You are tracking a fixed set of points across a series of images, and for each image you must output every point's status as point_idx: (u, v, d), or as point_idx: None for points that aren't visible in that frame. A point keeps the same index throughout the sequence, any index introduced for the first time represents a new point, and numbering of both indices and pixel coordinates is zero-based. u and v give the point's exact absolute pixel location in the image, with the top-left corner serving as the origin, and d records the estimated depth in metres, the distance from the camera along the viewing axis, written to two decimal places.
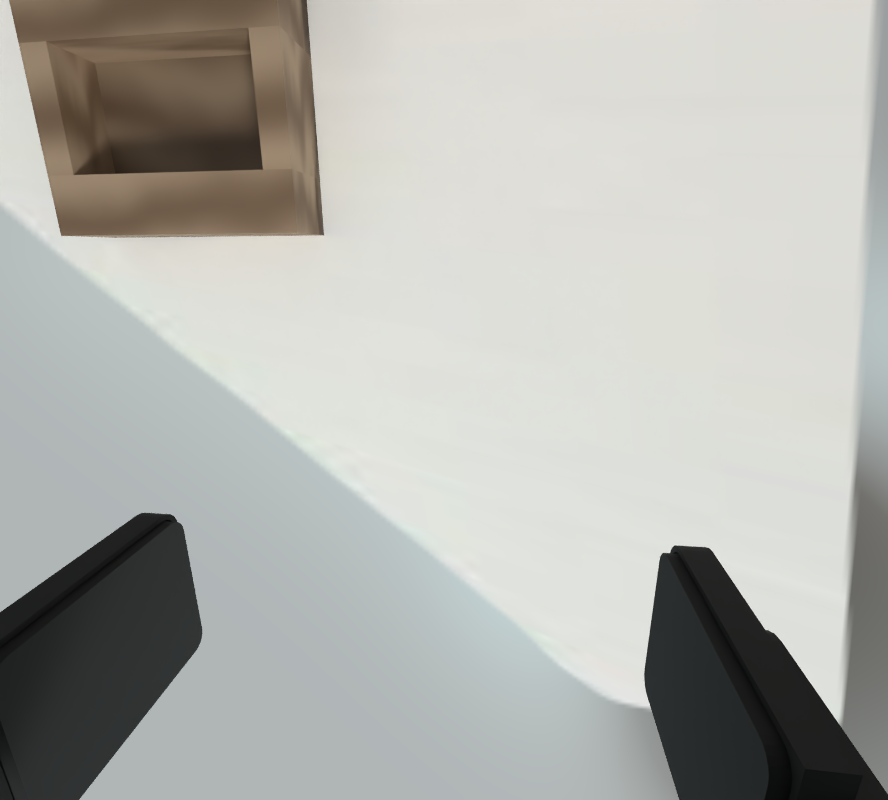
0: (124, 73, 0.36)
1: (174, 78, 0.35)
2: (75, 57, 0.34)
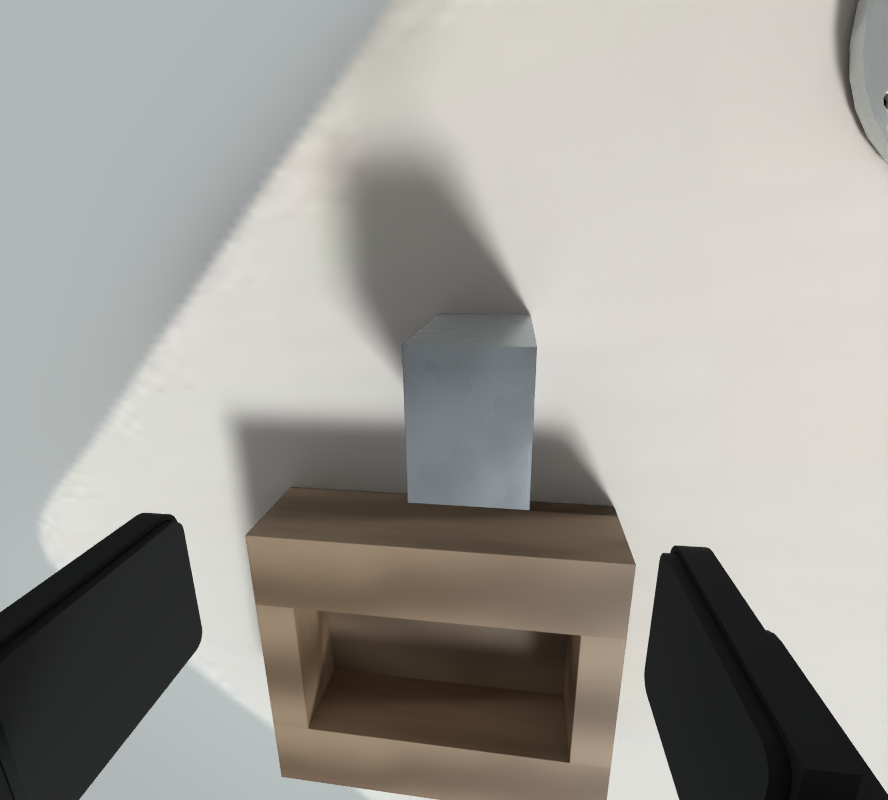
0: None
1: None
2: None
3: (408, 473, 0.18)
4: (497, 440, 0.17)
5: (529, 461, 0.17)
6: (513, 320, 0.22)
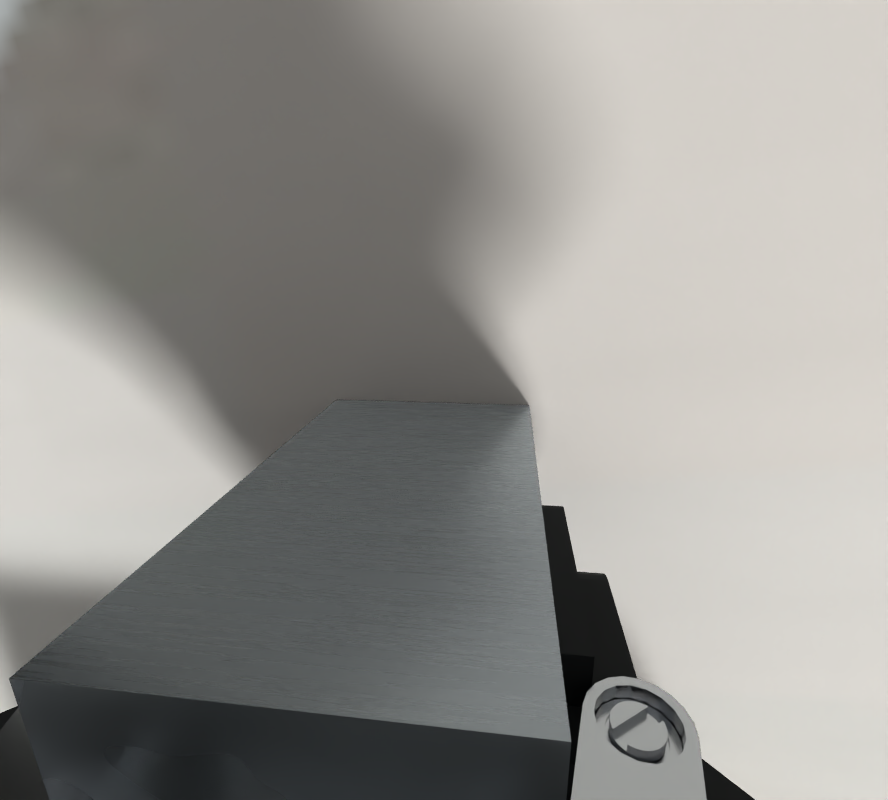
0: None
1: None
2: None
3: None
4: None
5: None
6: (490, 435, 0.09)
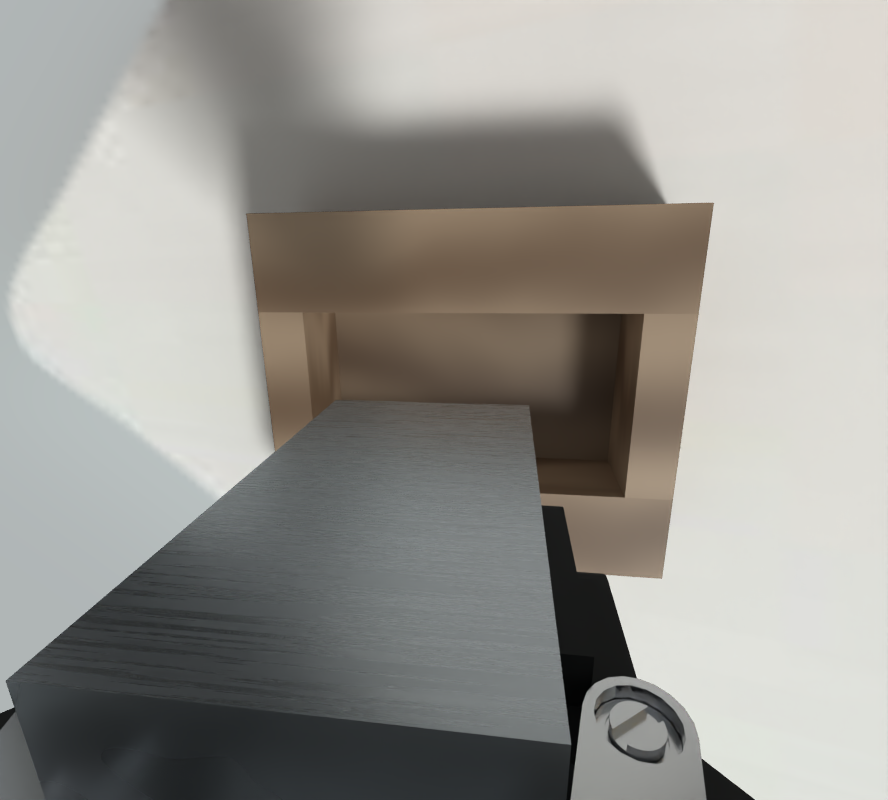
0: (377, 317, 0.25)
1: (453, 328, 0.24)
2: None
3: None
4: None
5: None
6: (490, 435, 0.09)
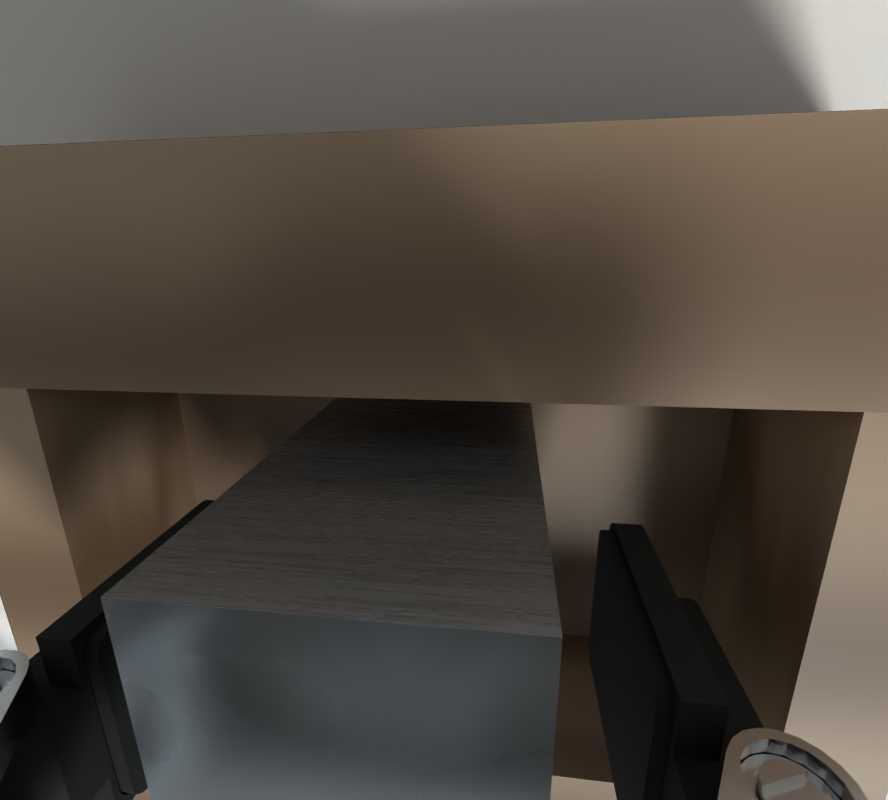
0: None
1: None
2: None
3: None
4: None
5: None
6: (493, 416, 0.10)
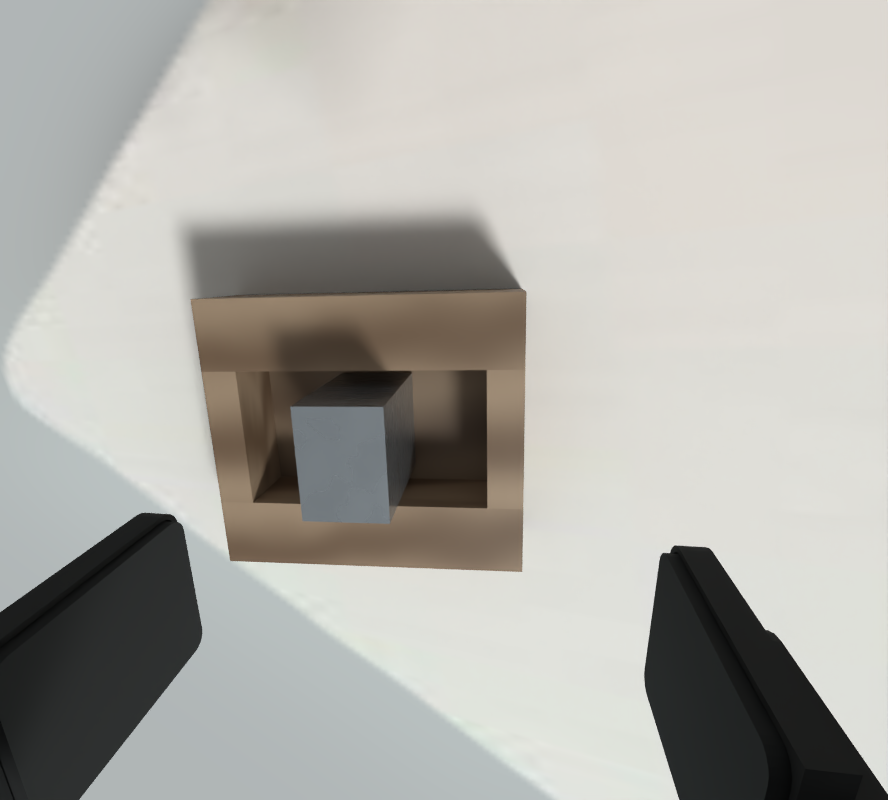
0: None
1: None
2: None
3: (301, 499, 0.24)
4: (362, 473, 0.24)
5: (386, 487, 0.24)
6: (392, 379, 0.29)
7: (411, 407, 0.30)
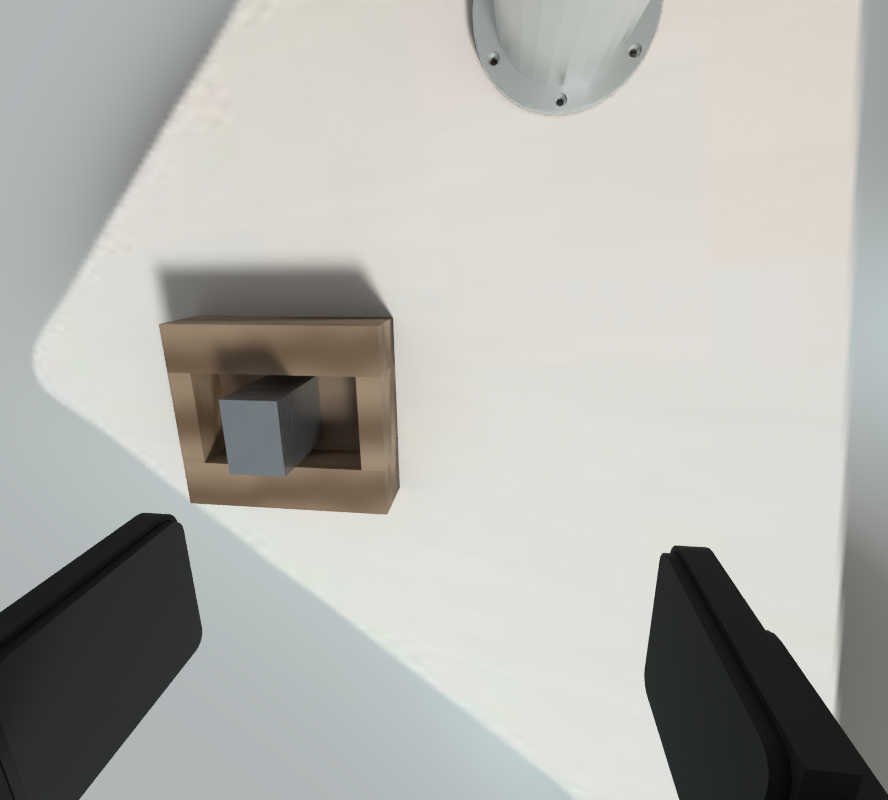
0: None
1: None
2: None
3: (228, 459, 0.37)
4: (266, 443, 0.37)
5: (281, 453, 0.37)
6: (299, 380, 0.41)
7: (316, 399, 0.43)
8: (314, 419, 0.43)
